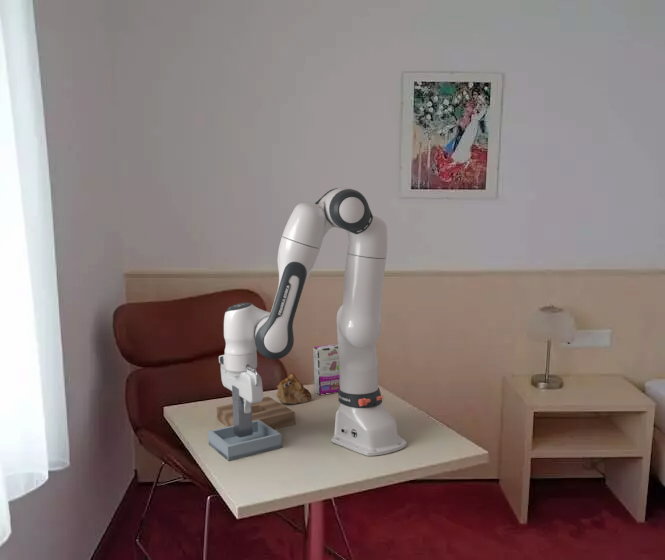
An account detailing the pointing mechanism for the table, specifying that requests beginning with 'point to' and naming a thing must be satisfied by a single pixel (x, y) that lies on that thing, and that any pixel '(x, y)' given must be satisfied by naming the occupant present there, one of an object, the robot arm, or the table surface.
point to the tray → (244, 441)
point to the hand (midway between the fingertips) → (242, 409)
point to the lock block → (261, 413)
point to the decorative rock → (292, 391)
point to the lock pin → (241, 416)
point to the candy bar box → (326, 369)
